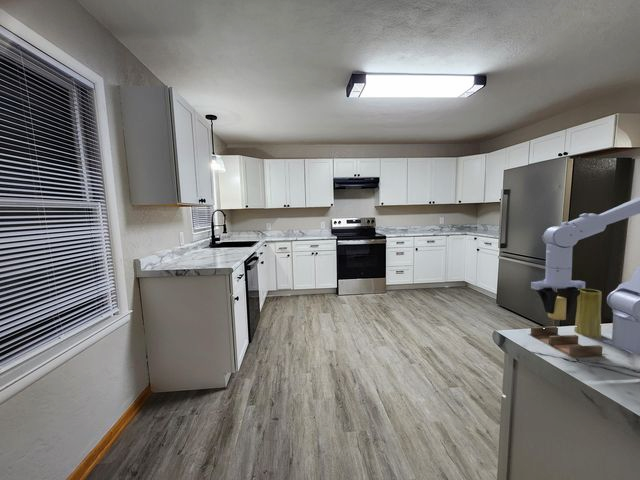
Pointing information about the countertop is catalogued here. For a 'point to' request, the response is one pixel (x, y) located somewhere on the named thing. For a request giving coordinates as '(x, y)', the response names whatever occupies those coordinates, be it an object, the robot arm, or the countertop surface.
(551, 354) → the countertop surface
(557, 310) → the peg
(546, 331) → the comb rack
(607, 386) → the countertop surface
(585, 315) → the vase
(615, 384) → the countertop surface
